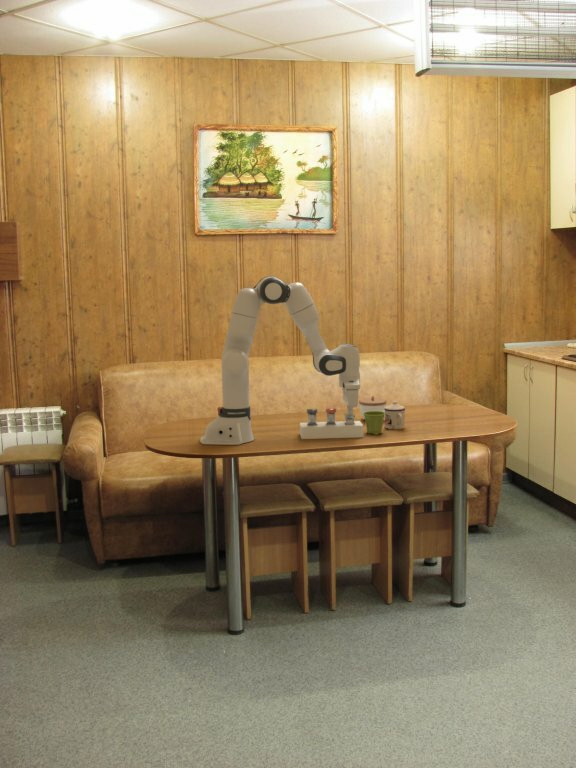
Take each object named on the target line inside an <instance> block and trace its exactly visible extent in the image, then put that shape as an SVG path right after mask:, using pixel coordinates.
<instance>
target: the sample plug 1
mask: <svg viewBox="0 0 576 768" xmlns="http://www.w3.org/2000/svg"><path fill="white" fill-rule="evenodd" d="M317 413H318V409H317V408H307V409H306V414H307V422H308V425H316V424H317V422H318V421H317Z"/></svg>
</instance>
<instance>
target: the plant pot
mask: <svg viewBox="0 0 576 768" xmlns="http://www.w3.org/2000/svg"><path fill="white" fill-rule="evenodd" d="M363 414H364V417H365V419H364V420H365V427H366V431H367V434H373V435H380V434H381V433H382V430H383V422H384V419H385V412H381V411H369V412H364V413H363Z"/></svg>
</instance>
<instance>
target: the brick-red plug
mask: <svg viewBox="0 0 576 768" xmlns="http://www.w3.org/2000/svg"><path fill="white" fill-rule="evenodd" d="M325 413H326V422H327V424H335V422H336V413H337V409H336V408H334V407H327V408H325Z"/></svg>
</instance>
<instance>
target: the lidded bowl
mask: <svg viewBox="0 0 576 768" xmlns="http://www.w3.org/2000/svg"><path fill="white" fill-rule="evenodd" d="M358 404H359V412H360V415H361V417H362V418H363V419H364V420H365V417H364V414H363V413H364V412H369V411H381V412H385V409H384V408H385V407H386V406H387V400H386V399H383V398H375V396H374V395H373V396H371V398H362V399H359V400H358Z"/></svg>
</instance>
